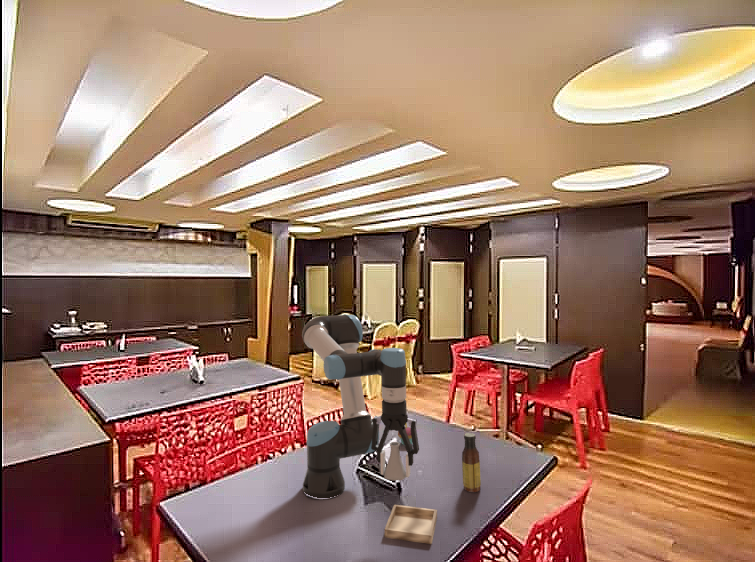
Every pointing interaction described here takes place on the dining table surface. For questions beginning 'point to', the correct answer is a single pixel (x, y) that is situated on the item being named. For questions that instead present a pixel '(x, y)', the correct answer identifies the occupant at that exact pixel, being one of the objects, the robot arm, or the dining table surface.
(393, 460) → the flask
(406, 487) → the dining table surface
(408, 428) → the cupcake
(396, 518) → the serving tray
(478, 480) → the sauce bottle
